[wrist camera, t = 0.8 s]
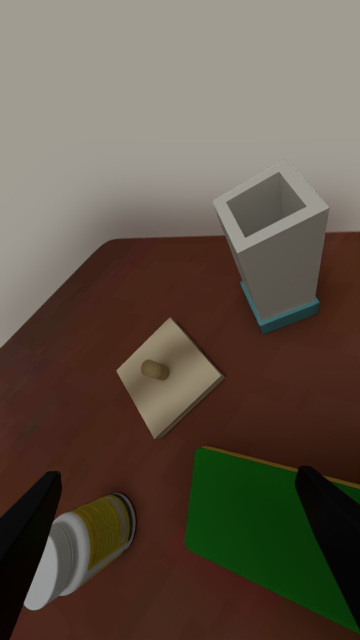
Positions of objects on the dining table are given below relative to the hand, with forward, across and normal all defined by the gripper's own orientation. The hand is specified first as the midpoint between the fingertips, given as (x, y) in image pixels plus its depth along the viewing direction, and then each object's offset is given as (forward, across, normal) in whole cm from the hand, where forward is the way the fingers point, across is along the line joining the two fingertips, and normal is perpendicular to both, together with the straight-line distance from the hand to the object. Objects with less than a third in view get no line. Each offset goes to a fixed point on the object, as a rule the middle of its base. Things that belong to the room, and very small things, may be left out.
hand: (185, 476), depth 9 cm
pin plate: (+16, 0, +5) cm, 17 cm away
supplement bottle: (+10, +4, +18) cm, 21 cm away
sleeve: (+16, -11, -4) cm, 19 cm away
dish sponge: (+6, -9, +11) cm, 16 cm away
